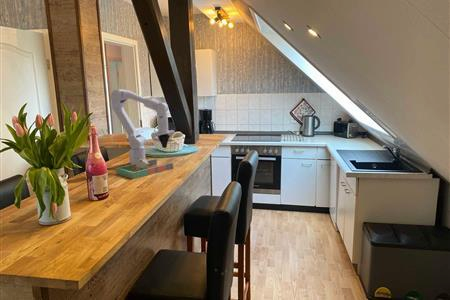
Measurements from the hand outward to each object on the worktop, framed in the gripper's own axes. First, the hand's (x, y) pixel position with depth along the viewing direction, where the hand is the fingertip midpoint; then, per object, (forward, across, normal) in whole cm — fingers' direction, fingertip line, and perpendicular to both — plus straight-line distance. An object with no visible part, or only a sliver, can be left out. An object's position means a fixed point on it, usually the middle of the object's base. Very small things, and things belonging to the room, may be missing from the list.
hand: (164, 147), depth 189 cm
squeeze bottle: (+10, -39, +8) cm, 41 cm away
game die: (+10, -20, -6) cm, 23 cm away
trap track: (+9, -16, -4) cm, 19 cm away
